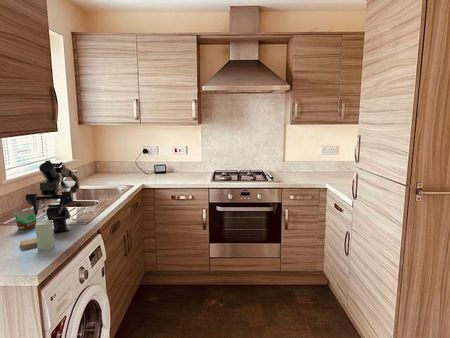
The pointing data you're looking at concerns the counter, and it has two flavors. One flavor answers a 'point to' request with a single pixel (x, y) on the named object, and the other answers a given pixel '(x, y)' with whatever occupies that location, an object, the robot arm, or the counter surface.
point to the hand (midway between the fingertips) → (47, 214)
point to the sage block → (44, 235)
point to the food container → (25, 218)
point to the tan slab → (28, 243)
